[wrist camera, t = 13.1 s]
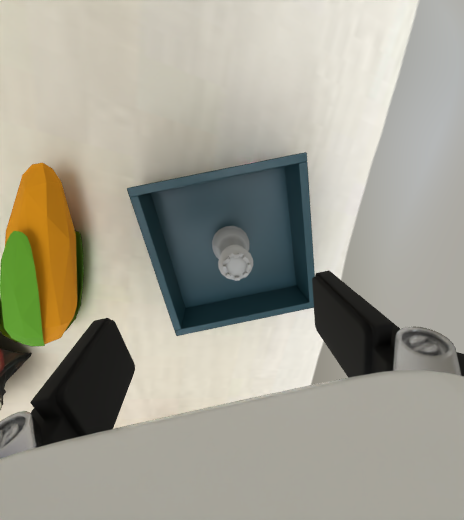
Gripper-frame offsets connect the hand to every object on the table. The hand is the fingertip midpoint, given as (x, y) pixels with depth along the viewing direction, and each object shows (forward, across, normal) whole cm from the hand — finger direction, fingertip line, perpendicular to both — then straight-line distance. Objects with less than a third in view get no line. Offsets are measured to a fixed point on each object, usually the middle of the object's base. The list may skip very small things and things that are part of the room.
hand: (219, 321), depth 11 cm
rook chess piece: (+18, -2, +2) cm, 18 cm away
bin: (+18, -2, +2) cm, 18 cm away
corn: (+18, +18, -1) cm, 26 cm away
